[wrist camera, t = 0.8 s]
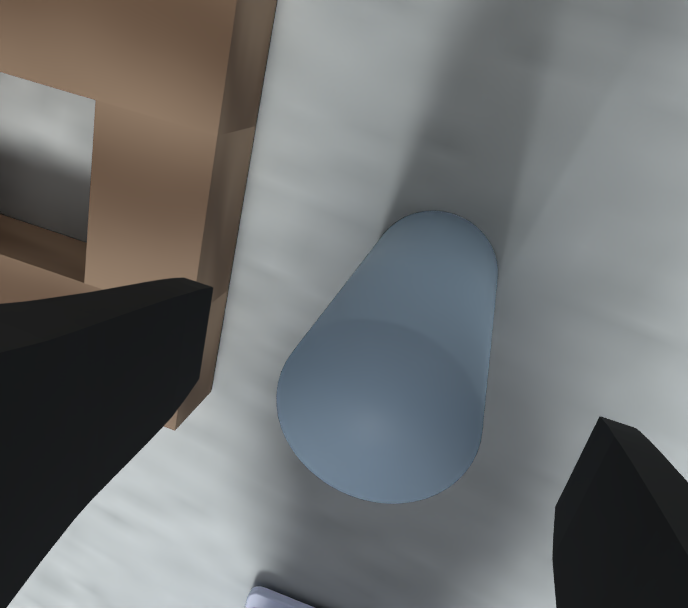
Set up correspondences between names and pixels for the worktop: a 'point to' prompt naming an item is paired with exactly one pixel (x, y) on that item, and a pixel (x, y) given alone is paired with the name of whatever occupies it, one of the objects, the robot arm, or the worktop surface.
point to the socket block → (144, 144)
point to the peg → (397, 365)
